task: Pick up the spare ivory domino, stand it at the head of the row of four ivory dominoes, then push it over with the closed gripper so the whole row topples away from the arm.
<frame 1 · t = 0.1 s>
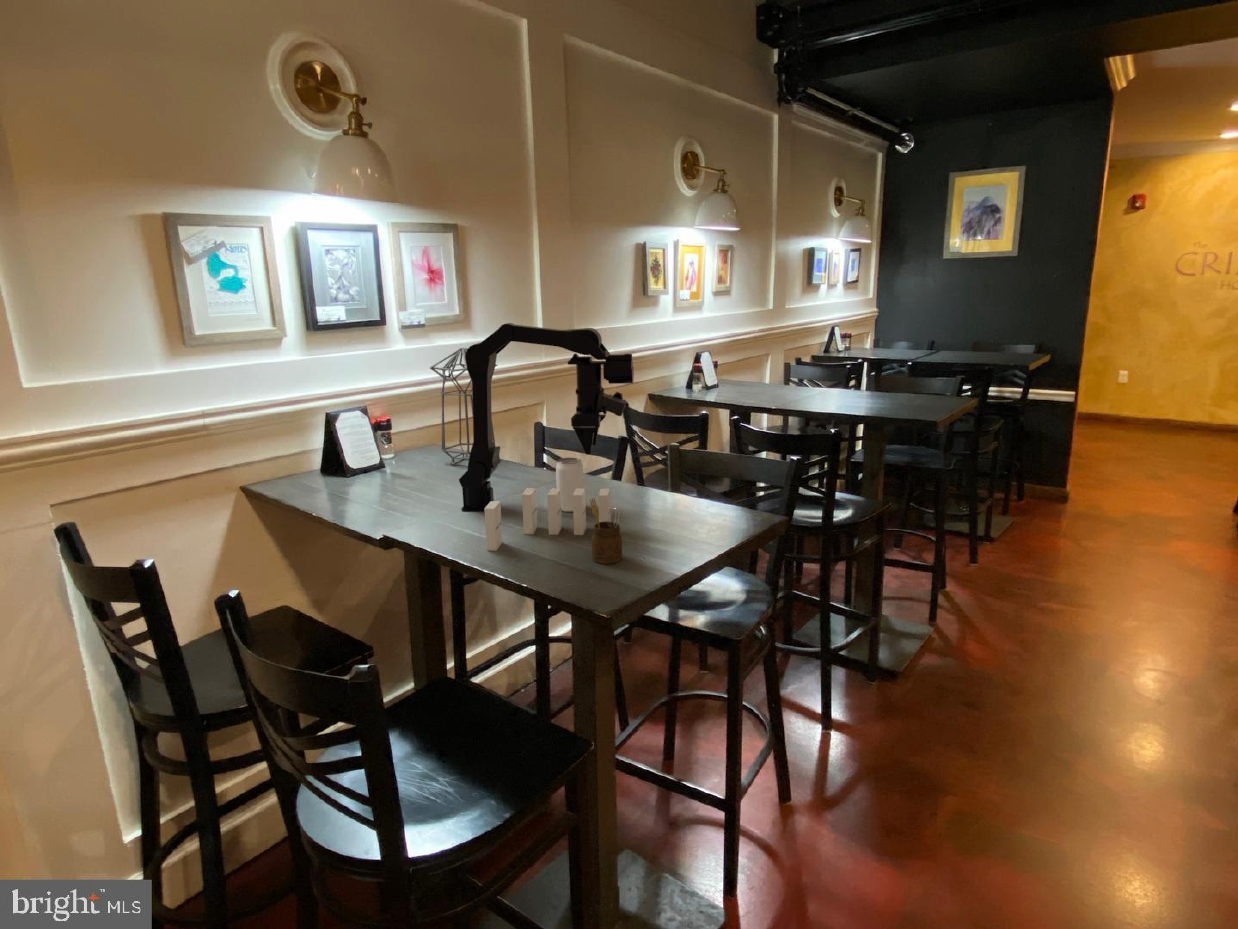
hand: (590, 449, 168), 15 cm above the table, fingers open, 9 cm apart
domino 3: (555, 530, 157), on the table
geometric lantern: (470, 462, 219), on the table
domino 4: (580, 531, 156), on the table
domino 2: (530, 530, 157), on the table
can: (570, 509, 172), on the table
domino 1: (495, 546, 148), on the table
utensil holder: (606, 559, 140), on the table
domino 5: (605, 531, 156), on the table
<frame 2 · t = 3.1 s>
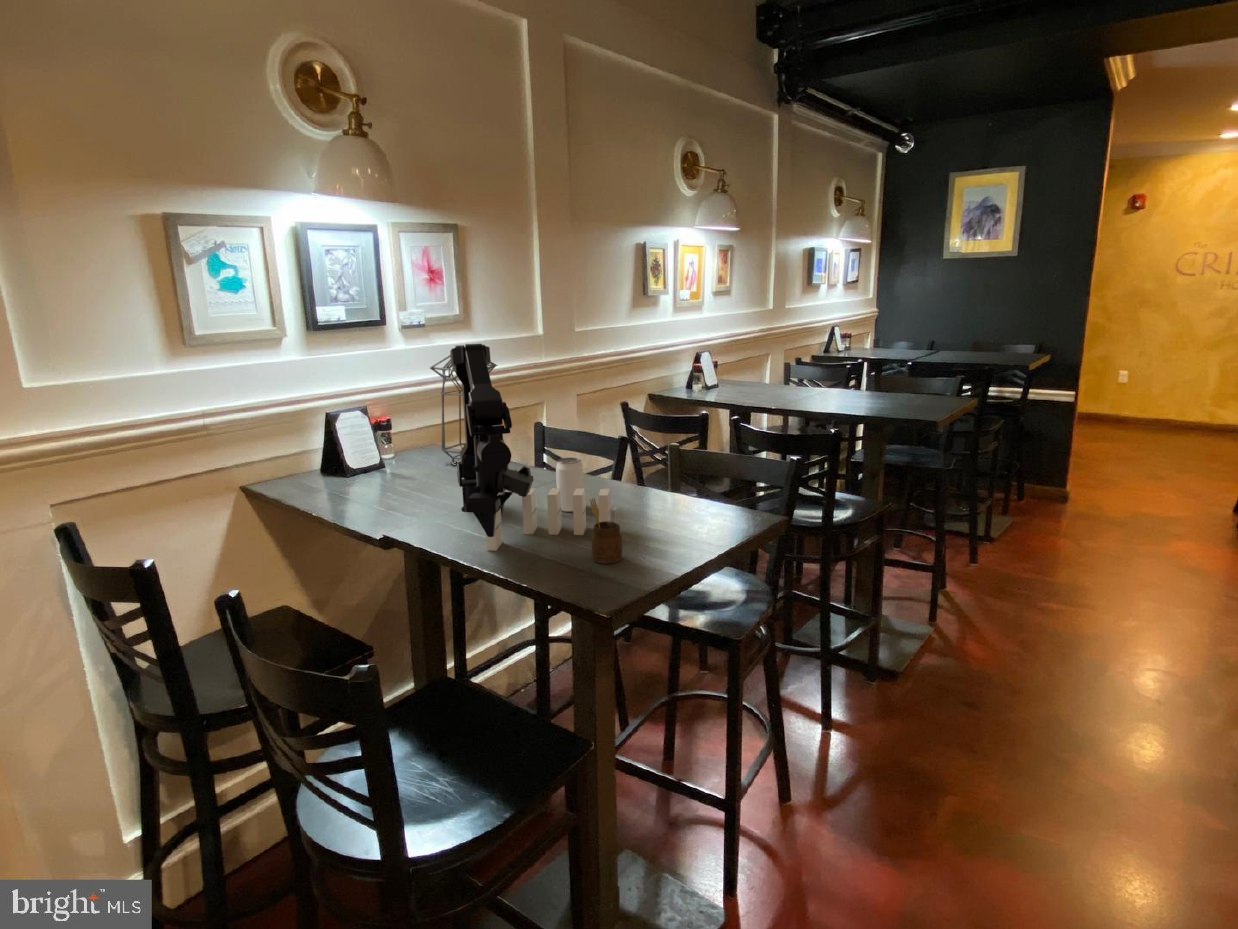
hand: (494, 532, 147), 3 cm above the table, fingers closed on domino 1, 5 cm apart
domino 1: (495, 546, 148), on the table, touching gripper
everything else where it was.
when the fingers open (4 cm above the table, at t = 7.0 s): domino 1 drops 1 cm, on the table.
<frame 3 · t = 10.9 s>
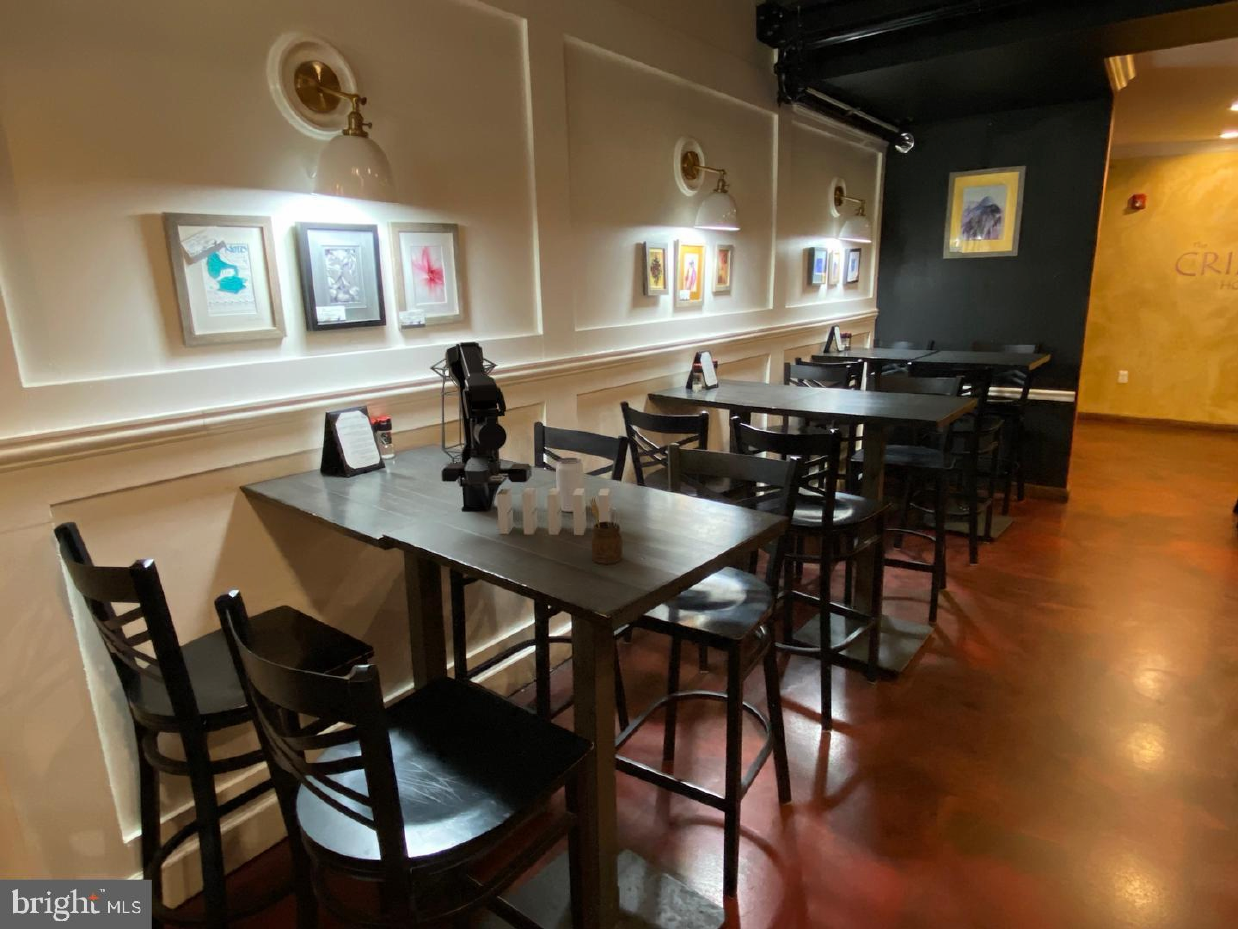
hand: (489, 510, 157), 5 cm above the table, fingers closed
domino 1: (506, 530, 158), on the table, touching gripper
everything else where it was.
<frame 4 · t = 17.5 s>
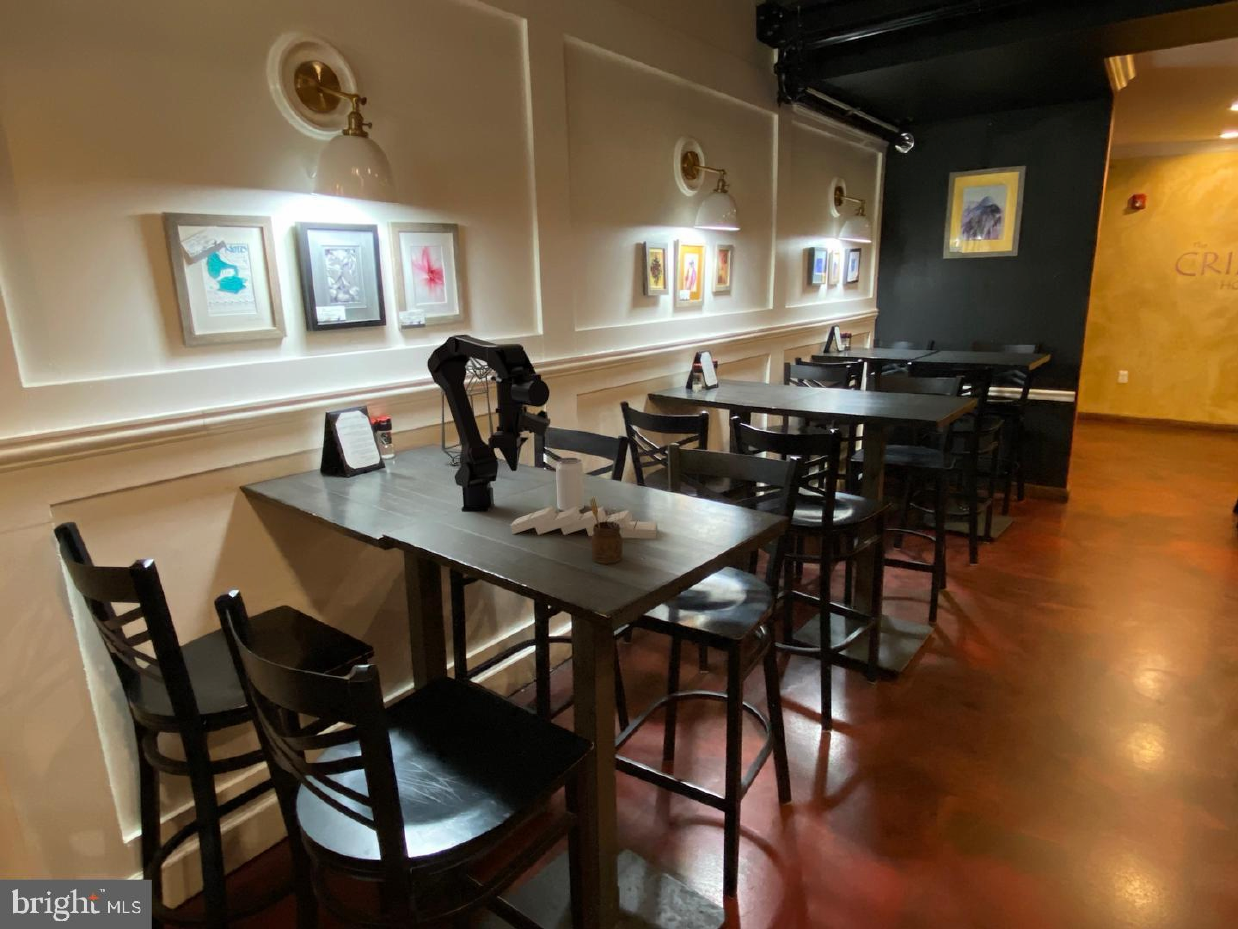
hand: (514, 470, 160), 12 cm above the table, fingers closed
domino 3: (564, 527, 156), point 1 cm above the table, tilted 69°, touching domino 2, domino 4
domino 4: (590, 528, 155), point 1 cm above the table, tilted 71°, touching domino 3, domino 5
domino 2: (539, 526, 157), point 1 cm above the table, tilted 69°, touching domino 1, domino 3
domino 1: (514, 526, 157), point 1 cm above the table, tilted 69°, touching domino 2
domino 5: (614, 529, 155), point 1 cm above the table, tilted 89°, touching domino 4
everything else where it was.
at the end: domino 5 tilted 89°; domino 1 tilted 69°; the gripper is holding nothing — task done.
